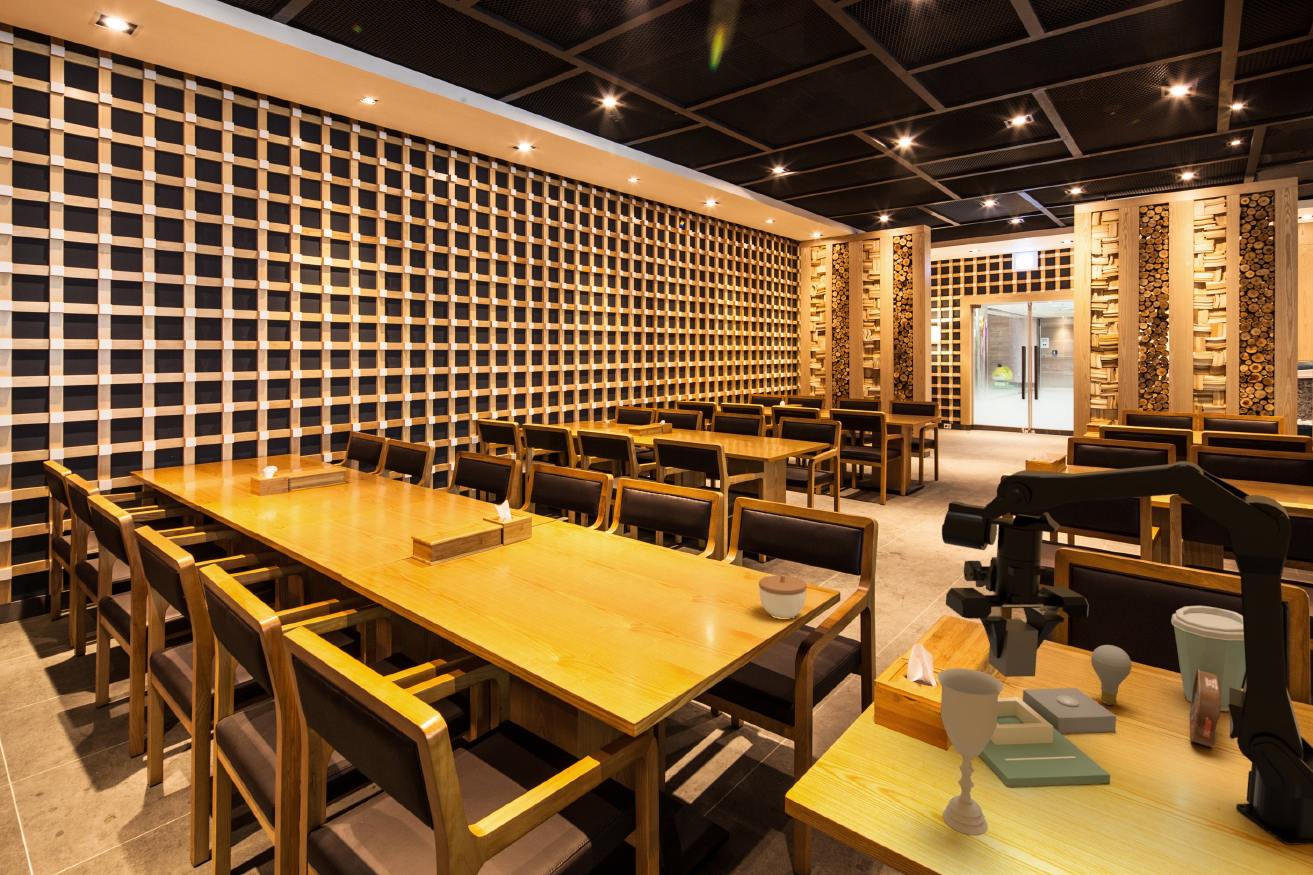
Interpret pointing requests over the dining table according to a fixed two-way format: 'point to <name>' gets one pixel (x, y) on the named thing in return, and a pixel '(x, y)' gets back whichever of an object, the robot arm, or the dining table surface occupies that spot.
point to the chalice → (968, 736)
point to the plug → (1017, 650)
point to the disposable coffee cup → (1210, 647)
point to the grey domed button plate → (1070, 710)
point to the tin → (1205, 708)
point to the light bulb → (1110, 670)
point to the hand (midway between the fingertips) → (1012, 656)
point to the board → (1035, 751)
